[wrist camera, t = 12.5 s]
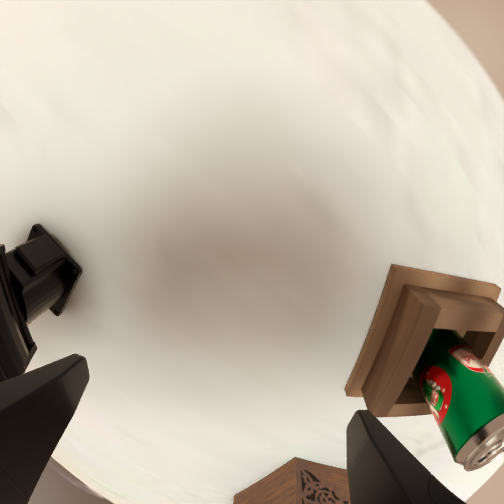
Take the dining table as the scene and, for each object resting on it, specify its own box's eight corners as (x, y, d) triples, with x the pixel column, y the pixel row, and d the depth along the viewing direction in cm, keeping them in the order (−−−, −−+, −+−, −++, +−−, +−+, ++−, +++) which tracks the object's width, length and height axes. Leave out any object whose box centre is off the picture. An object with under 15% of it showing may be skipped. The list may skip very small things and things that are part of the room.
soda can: (462, 334, 20) (533, 425, 9) (424, 376, 21) (476, 476, 10) (433, 309, 20) (516, 411, 8) (392, 355, 21) (446, 473, 10)
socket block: (344, 388, 23) (353, 425, 19) (391, 264, 20) (417, 289, 16) (445, 388, 23) (462, 416, 19) (495, 284, 20) (524, 305, 15)
